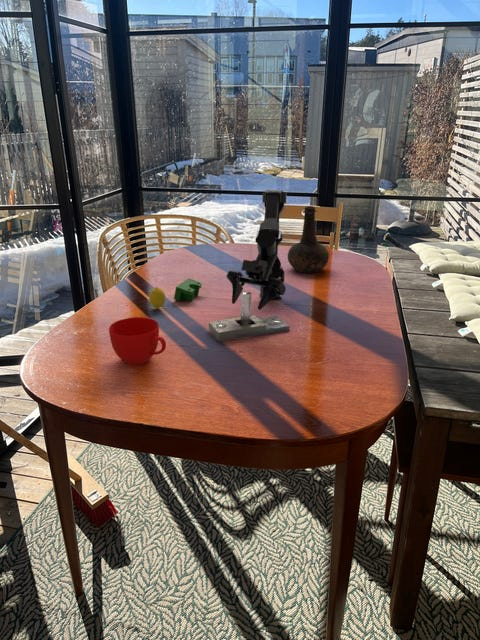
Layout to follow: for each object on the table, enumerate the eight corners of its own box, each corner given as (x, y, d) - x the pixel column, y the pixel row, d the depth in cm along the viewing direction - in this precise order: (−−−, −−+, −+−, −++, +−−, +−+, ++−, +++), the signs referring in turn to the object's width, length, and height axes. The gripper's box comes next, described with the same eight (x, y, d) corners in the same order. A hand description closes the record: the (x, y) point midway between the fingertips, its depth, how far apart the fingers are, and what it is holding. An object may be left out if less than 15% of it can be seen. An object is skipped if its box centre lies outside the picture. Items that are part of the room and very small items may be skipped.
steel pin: (248, 328, 149) (248, 290, 145) (252, 332, 146) (252, 294, 142) (238, 329, 148) (238, 292, 143) (242, 333, 145) (242, 295, 141)
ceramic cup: (149, 380, 118) (146, 343, 115) (102, 363, 127) (98, 329, 123) (182, 360, 129) (180, 326, 125) (136, 346, 137) (133, 313, 133)
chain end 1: (254, 323, 153) (254, 314, 152) (266, 334, 145) (266, 324, 144) (208, 330, 147) (208, 321, 146) (218, 341, 140) (218, 331, 139)
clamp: (188, 312, 174) (189, 295, 167) (174, 307, 175) (173, 289, 168) (202, 292, 182) (203, 274, 175) (188, 286, 183) (188, 269, 176)
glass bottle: (333, 268, 213) (338, 205, 203) (317, 278, 200) (322, 211, 189) (297, 263, 222) (301, 202, 212) (280, 272, 208) (282, 207, 198)
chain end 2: (276, 320, 156) (276, 315, 155) (289, 330, 148) (289, 325, 147) (225, 328, 149) (225, 323, 149) (235, 339, 142) (235, 333, 141)
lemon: (169, 307, 166) (167, 286, 163) (160, 312, 161) (158, 290, 158) (155, 305, 168) (154, 283, 165) (146, 310, 164) (145, 288, 161)
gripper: (229, 245, 147) (209, 288, 142) (282, 253, 137) (263, 299, 133) (242, 263, 156) (224, 305, 151) (293, 272, 147) (275, 316, 142)
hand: (245, 306), depth 144 cm, fingers open, 9 cm apart
